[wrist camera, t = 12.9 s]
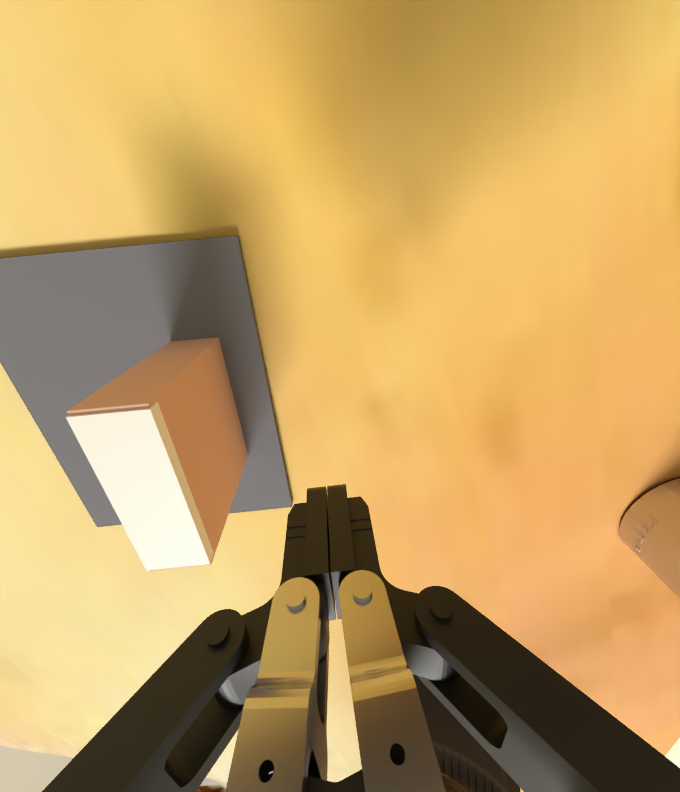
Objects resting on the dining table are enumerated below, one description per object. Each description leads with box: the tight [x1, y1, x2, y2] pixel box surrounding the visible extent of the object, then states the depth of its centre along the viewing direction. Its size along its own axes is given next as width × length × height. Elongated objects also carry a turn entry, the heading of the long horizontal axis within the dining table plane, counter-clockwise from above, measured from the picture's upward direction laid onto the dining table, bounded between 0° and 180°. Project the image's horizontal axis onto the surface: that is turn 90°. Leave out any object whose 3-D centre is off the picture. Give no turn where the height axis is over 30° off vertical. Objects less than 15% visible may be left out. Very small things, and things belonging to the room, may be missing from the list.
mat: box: [0, 236, 292, 527], centre depth 22 cm, size 16×20×1 cm
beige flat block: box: [66, 337, 248, 571], centre depth 18 cm, size 3×9×9 cm, turn 5°
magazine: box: [413, 674, 520, 792], centre depth 38 cm, size 17×3×30 cm
